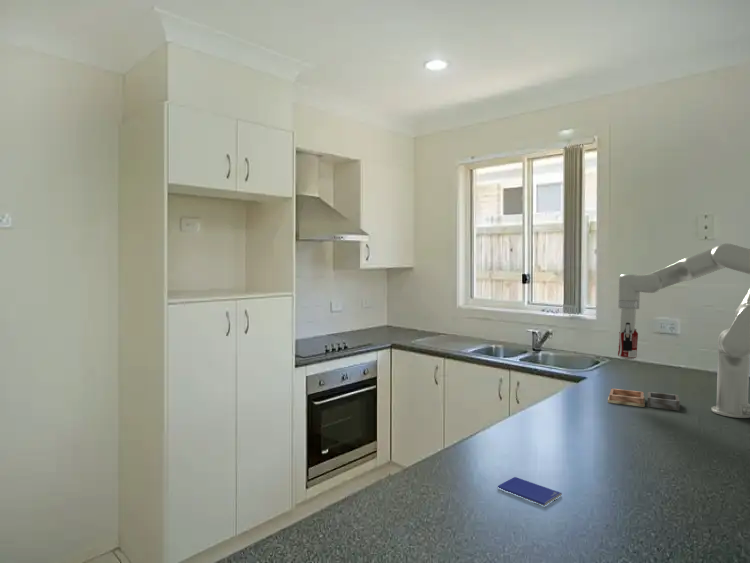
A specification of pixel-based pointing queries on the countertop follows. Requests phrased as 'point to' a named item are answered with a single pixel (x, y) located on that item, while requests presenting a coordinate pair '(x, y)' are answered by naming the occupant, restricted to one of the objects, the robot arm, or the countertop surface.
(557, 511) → the countertop surface
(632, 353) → the soda can
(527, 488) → the hard drive
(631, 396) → the dock
